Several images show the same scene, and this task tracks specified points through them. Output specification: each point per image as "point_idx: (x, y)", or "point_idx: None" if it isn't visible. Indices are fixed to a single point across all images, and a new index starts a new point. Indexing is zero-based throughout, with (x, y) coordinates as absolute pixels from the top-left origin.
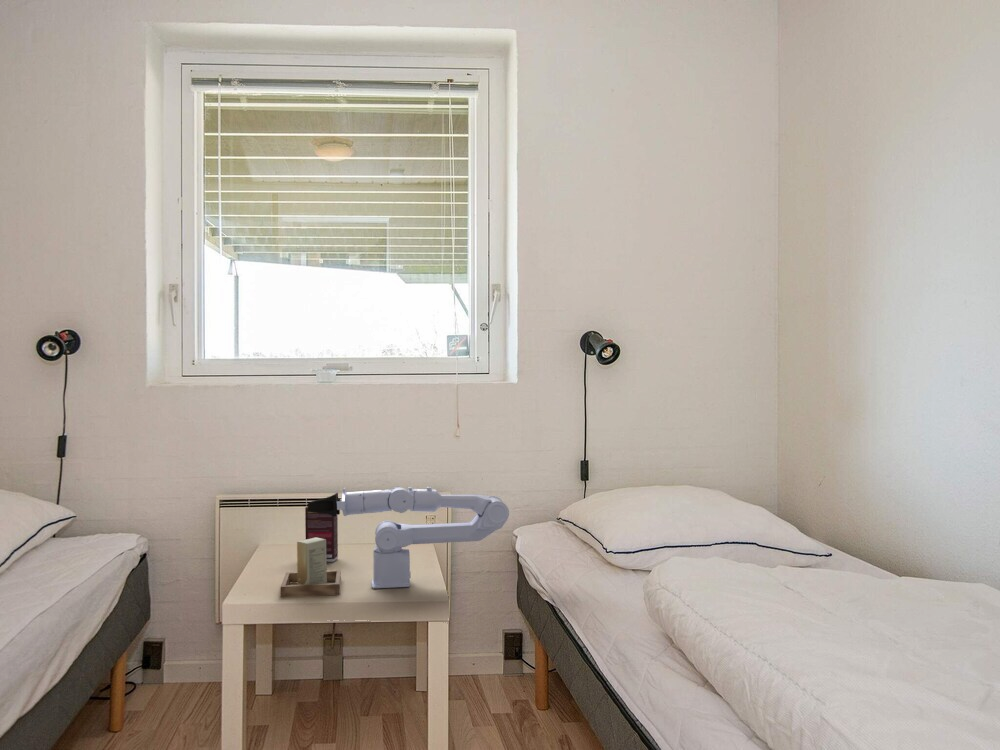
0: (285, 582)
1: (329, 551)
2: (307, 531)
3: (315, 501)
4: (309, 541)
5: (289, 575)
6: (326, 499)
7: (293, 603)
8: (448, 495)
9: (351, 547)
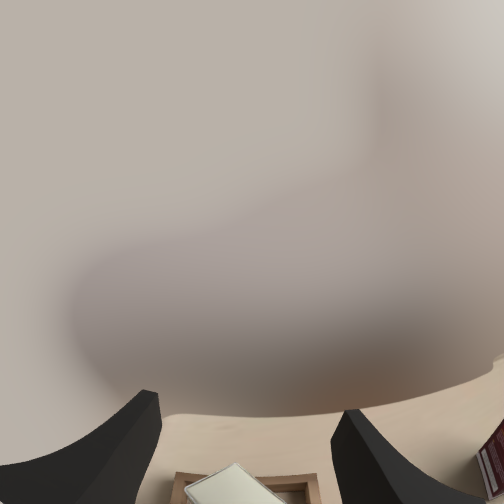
0: None
1: (501, 480)
2: None
3: (114, 415)
4: (215, 497)
5: (304, 483)
6: (51, 457)
7: None
8: None
9: None
